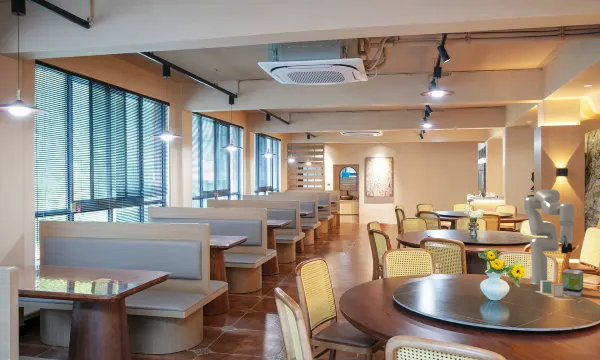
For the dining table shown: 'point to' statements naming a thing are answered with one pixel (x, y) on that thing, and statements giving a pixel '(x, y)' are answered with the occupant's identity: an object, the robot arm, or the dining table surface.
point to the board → (556, 297)
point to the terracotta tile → (557, 290)
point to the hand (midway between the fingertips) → (566, 252)
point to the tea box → (572, 282)
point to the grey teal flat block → (546, 286)
